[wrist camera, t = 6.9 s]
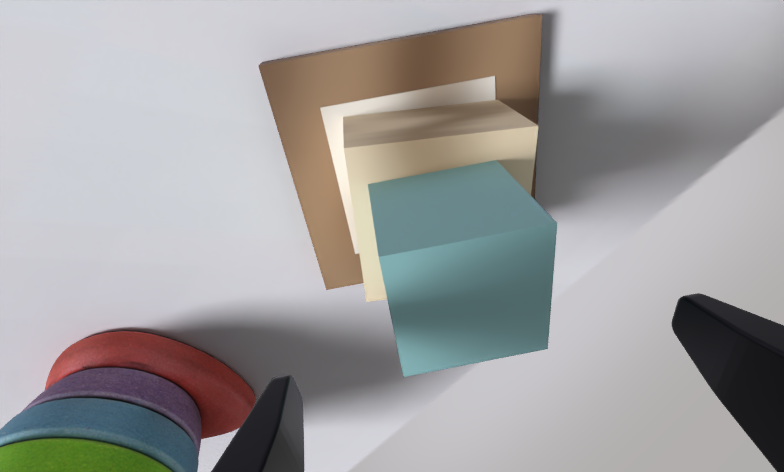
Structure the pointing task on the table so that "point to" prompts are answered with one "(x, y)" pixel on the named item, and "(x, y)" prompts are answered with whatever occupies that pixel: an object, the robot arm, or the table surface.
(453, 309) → the teal block
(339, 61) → the walnut board
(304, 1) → the table surface
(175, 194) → the table surface
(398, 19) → the table surface
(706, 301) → the robot arm
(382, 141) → the beech block
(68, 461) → the stacking bear
